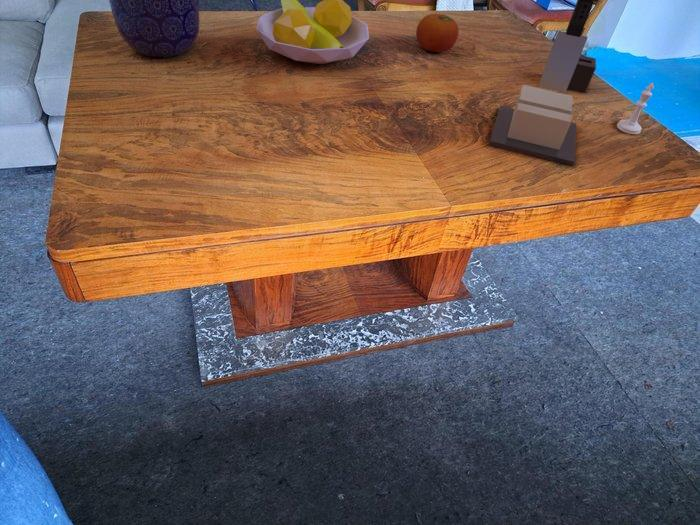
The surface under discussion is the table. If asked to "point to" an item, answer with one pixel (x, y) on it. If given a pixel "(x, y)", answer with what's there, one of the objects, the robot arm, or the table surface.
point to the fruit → (437, 32)
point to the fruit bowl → (313, 31)
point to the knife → (563, 57)
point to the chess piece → (636, 114)
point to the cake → (544, 100)
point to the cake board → (502, 141)
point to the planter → (157, 25)
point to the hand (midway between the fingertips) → (578, 21)
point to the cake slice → (539, 126)
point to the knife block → (582, 74)
